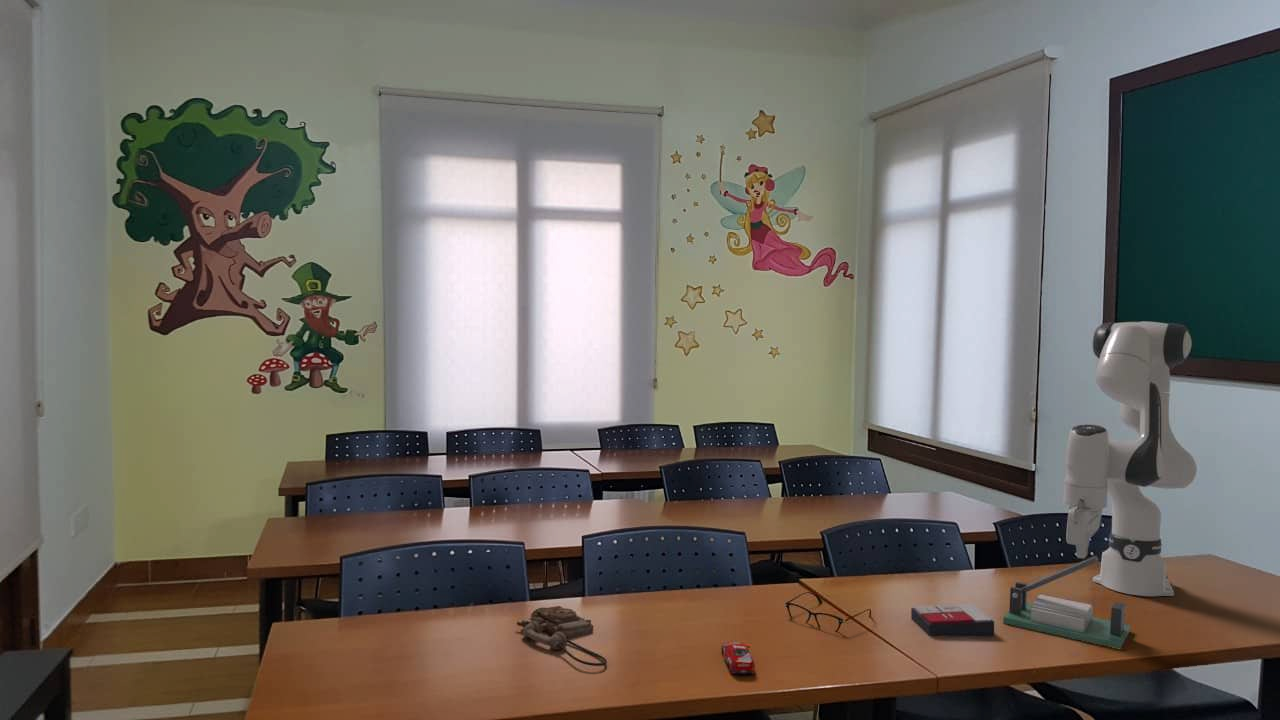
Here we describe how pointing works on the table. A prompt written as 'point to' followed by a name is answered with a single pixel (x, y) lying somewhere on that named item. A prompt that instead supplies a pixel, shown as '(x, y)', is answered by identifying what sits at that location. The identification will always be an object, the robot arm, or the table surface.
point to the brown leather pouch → (558, 629)
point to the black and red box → (952, 620)
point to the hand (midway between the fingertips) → (1081, 556)
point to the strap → (1060, 574)
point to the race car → (738, 658)
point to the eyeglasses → (819, 613)
